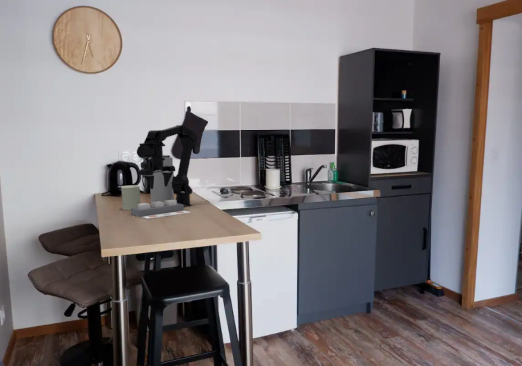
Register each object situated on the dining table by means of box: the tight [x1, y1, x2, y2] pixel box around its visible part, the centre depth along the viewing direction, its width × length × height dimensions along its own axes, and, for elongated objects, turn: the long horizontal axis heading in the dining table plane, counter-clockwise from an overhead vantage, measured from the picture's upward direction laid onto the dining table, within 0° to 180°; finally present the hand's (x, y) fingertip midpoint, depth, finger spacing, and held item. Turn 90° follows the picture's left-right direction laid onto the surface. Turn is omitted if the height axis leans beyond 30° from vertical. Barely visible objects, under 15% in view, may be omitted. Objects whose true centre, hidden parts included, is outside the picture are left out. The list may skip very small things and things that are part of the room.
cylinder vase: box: [148, 156, 175, 204], centre depth 240 cm, size 12×12×25 cm
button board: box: [130, 203, 185, 218], centre depth 215 cm, size 23×10×3 cm, turn 129°
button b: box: [164, 199, 177, 206], centre depth 219 cm, size 4×4×2 cm
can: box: [121, 184, 141, 211], centre depth 227 cm, size 9×9×12 cm
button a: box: [138, 202, 151, 209], centre depth 210 cm, size 4×4×2 cm
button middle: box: [150, 201, 164, 208], centre depth 214 cm, size 4×4×2 cm
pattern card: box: [142, 210, 191, 220], centre depth 207 cm, size 22×6×1 cm, turn 129°
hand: (159, 187), depth 217 cm, fingers open, 9 cm apart
